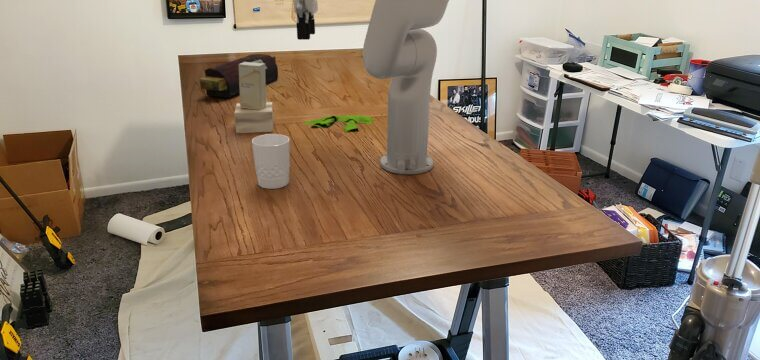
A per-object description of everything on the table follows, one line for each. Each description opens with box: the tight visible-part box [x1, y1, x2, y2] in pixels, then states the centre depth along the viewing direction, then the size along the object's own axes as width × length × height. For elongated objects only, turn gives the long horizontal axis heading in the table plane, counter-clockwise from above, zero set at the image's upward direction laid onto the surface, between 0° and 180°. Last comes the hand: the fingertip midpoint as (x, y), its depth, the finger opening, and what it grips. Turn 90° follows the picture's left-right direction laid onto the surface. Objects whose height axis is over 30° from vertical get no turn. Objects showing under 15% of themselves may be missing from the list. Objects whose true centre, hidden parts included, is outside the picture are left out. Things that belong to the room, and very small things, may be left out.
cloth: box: [302, 114, 375, 133], centre depth 162 cm, size 20×22×2 cm
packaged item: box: [198, 53, 279, 99], centre depth 198 cm, size 39×10×10 cm, turn 158°
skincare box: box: [239, 62, 267, 110], centre depth 154 cm, size 6×4×12 cm
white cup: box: [251, 133, 291, 190], centre depth 121 cm, size 8×8×10 cm
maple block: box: [233, 101, 275, 134], centre depth 158 cm, size 10×10×6 cm
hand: (306, 36), depth 148 cm, fingers open, 9 cm apart
